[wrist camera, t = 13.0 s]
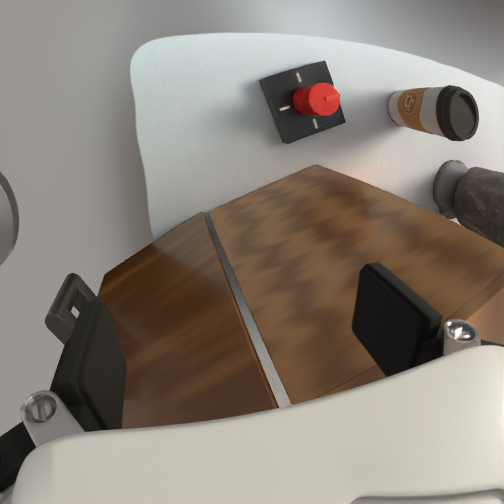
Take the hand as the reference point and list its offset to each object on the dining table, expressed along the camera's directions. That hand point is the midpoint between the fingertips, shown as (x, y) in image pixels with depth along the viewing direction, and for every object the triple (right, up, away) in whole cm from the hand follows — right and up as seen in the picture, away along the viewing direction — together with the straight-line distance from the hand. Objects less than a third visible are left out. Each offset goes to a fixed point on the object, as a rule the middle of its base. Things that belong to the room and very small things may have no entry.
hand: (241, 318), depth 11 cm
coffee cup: (+26, +27, +35) cm, 52 cm away
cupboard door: (-16, +6, +33) cm, 37 cm away
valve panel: (+8, +24, +31) cm, 40 cm away
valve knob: (+8, +24, +29) cm, 39 cm away
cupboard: (+5, +5, +39) cm, 40 cm away
